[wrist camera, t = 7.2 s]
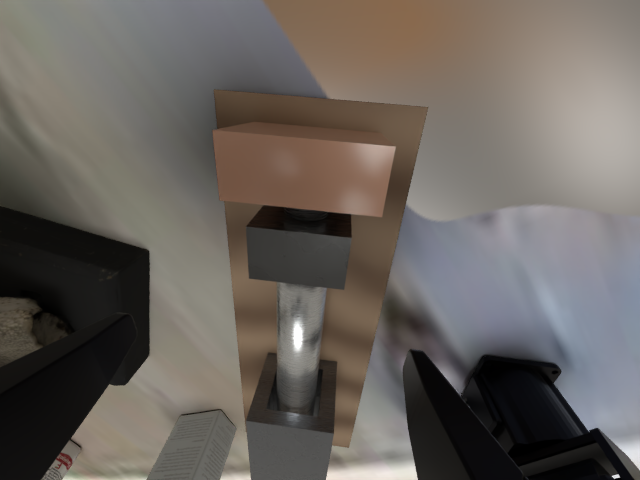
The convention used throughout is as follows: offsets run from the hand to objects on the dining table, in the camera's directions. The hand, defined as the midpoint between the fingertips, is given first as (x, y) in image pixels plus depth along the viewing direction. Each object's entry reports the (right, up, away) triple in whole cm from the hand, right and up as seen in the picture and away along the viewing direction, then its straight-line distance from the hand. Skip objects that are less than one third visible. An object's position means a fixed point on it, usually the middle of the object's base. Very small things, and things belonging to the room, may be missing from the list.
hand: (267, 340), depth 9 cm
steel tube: (+1, -1, +12) cm, 12 cm away
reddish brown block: (+1, +8, +8) cm, 11 cm away
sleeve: (0, -12, +20) cm, 23 cm away
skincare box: (-12, -19, +24) cm, 33 cm away
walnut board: (0, -4, +15) cm, 16 cm away
